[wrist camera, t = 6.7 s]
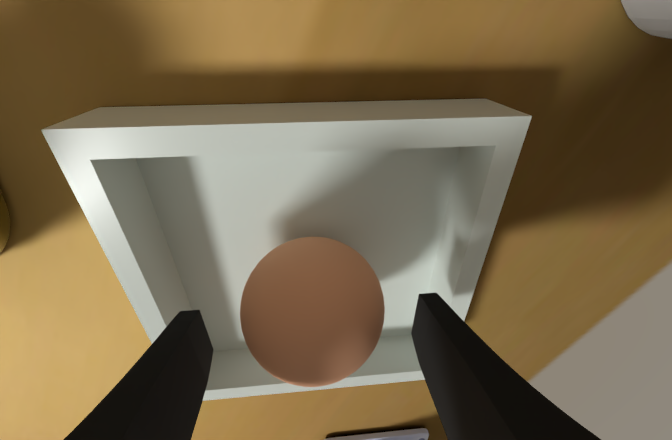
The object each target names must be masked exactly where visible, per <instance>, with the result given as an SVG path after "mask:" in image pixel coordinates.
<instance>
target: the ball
mask: <svg viewBox="0 0 672 440" xmlns="http://www.w3.org/2000/svg"><path fill="white" fill-rule="evenodd" d="M384 314H385V306H384V297H383V292H382V289H381V285H380V282H379V280H378V278H377V276H376V274H375V272H374V270H373V269H372V267H371V266H370V265H369V263H368V262H367V261H366V259H365V258H363V257H362V256H361V255H360V254H359V253H358V252H357V251H356V250H354V249H353V248H351V247H350V246H348V245H346V244H344V243H342V242H340V241H337V240H334V239H330V238H325V237H302V238H298V239H294V240H291V241H288V242H286V243H283V244H281V245H279V246H278V247H276V248H274V249H273V250H272V251H270V252H269V253H268V254H267V255H266V256H264V257H263V258H262V259H261V260H260V261H259V263H258V264H257V265H256V267H255V268H254V270H253V271H252V272H251V274H250V276H249V278H248V280H247V282H246V284H245V287H244V290H243V294H242V298H241V305H240V321H241V329H242V333H243V336H244V339H245V342H246V344H247V346H248V348H249V350H250V352H251V354H252V355H253V357H254V358H255V359H256V361H257V362H258V363H259V364H260V366H262V367H263V368H264V369H265V370H266V371H267V372H268V373H270V374H271V375H273V376H274V377H276V378H278V379H280V380H282V381H284V382H286V383H289V384H293V385H297V386H303V387H320V386H326V385H330V384H333V383H336V382H338V381H340V380H342V379H344V378H346V377H348V376H349V375H351V374H352V373H354V372H355V371H356V370H358V369H359V368H360V367H361V366H362V365H363V364H364V363H365V362H366V360H367V359H368V358H369V357H370V355H371V353H372V352H373V350H374V349H375V347H376V345H377V343H378V340H379V338H380V336H381V332H382V328H383V324H384Z"/></svg>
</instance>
